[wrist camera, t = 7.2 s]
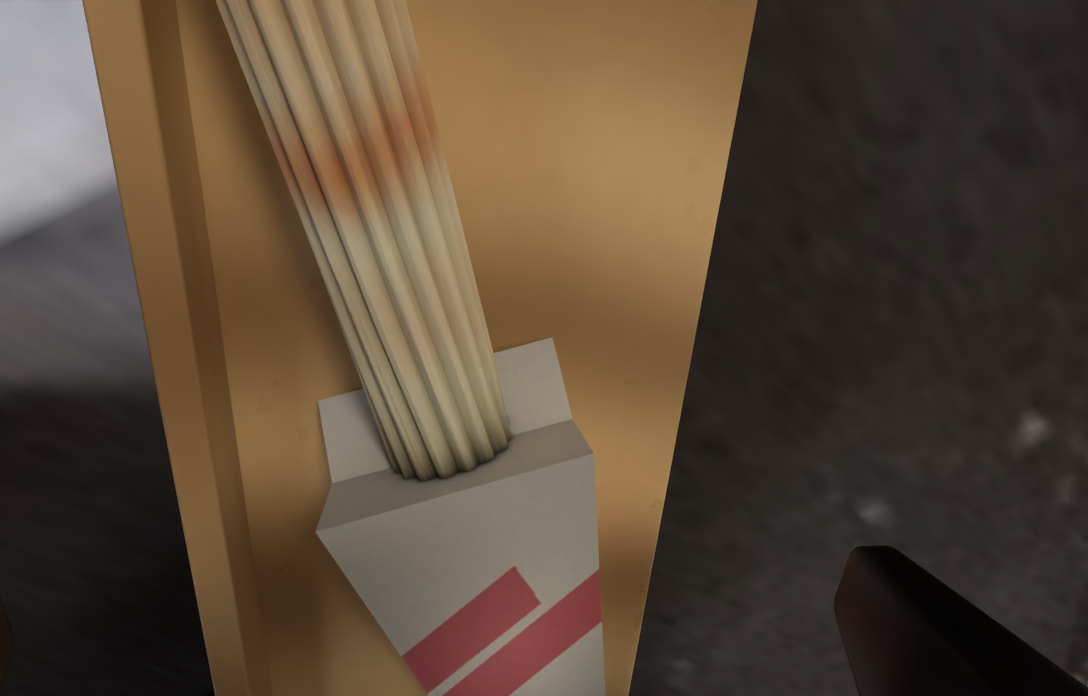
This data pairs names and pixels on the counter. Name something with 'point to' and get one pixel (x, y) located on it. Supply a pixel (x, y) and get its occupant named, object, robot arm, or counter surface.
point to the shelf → (499, 268)
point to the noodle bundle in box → (426, 374)
